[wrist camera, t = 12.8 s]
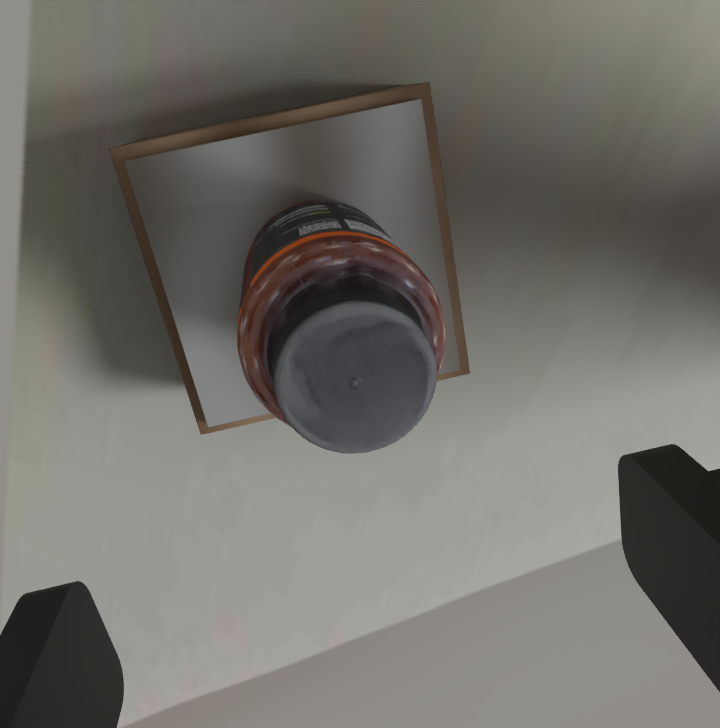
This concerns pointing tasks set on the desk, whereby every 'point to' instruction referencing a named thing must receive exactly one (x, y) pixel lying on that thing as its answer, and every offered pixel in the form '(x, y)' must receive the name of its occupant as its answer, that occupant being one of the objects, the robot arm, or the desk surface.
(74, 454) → the desk surface
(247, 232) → the wooden rimmed tray
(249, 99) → the desk surface
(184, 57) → the desk surface
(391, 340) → the supplement bottle
